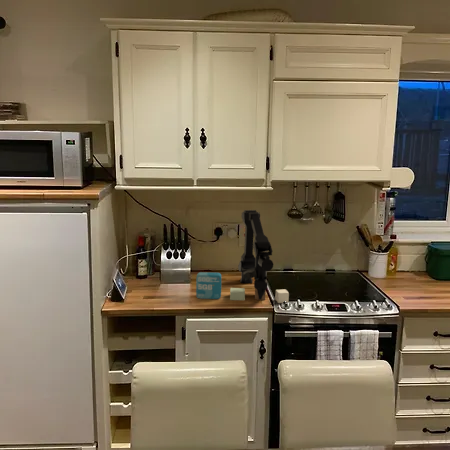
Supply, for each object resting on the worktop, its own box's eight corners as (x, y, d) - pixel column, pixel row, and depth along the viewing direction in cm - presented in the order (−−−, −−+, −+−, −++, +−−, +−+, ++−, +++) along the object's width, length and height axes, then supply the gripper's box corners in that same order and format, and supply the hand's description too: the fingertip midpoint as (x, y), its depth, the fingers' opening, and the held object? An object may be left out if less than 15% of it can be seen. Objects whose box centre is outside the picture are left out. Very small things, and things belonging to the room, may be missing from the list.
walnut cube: (254, 296, 231) (255, 286, 230) (264, 296, 231) (265, 286, 230) (254, 299, 226) (255, 289, 225) (265, 300, 226) (265, 290, 225)
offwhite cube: (275, 299, 227) (275, 289, 226) (285, 299, 228) (285, 289, 227) (278, 303, 222) (278, 293, 221) (288, 302, 223) (288, 292, 222)
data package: (196, 298, 226) (196, 274, 224) (196, 295, 230) (197, 272, 228) (220, 299, 226) (221, 275, 223) (221, 296, 230) (221, 272, 228)
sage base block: (230, 295, 232) (230, 287, 231) (244, 295, 232) (244, 288, 231) (230, 300, 225) (230, 292, 224) (244, 300, 225) (244, 293, 224)
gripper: (244, 259, 235) (243, 288, 238) (244, 270, 217) (243, 301, 220) (266, 260, 234) (265, 289, 237) (268, 270, 216) (266, 302, 219)
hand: (259, 295), depth 228 cm, fingers open, 9 cm apart
